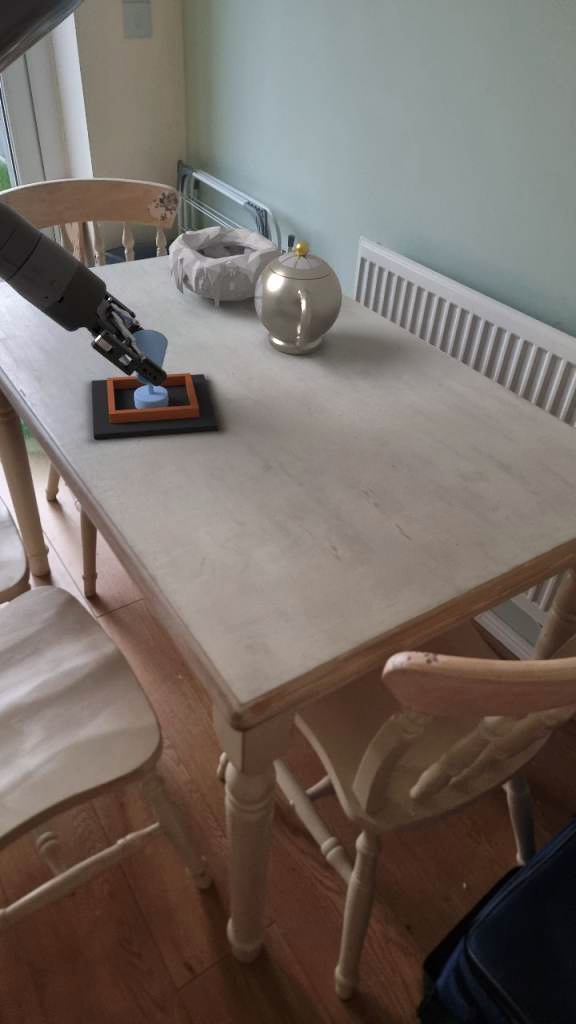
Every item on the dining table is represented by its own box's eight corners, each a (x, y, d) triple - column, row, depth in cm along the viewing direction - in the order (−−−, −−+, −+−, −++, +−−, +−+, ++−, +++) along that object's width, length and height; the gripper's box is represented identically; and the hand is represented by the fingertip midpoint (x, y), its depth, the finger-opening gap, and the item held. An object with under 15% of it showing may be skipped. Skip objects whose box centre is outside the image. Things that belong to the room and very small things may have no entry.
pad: (94, 439, 89) (91, 424, 87) (92, 385, 99) (90, 370, 98) (218, 430, 92) (218, 415, 91) (203, 378, 102) (203, 364, 101)
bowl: (155, 279, 130) (151, 224, 124) (256, 269, 137) (258, 216, 131) (187, 326, 116) (185, 266, 109) (299, 312, 123) (303, 255, 116)
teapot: (250, 323, 118) (253, 224, 107) (329, 324, 119) (339, 226, 109) (257, 375, 104) (261, 267, 94) (346, 375, 106) (359, 269, 95)
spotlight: (135, 389, 97) (131, 415, 92) (129, 322, 91) (124, 346, 86) (170, 389, 98) (169, 415, 93) (167, 322, 92) (165, 346, 86)
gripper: (38, 282, 88) (137, 359, 98) (33, 331, 78) (144, 411, 88) (76, 239, 86) (173, 322, 96) (76, 283, 76) (185, 371, 85)
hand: (159, 365), depth 92 cm, fingers open, 8 cm apart
